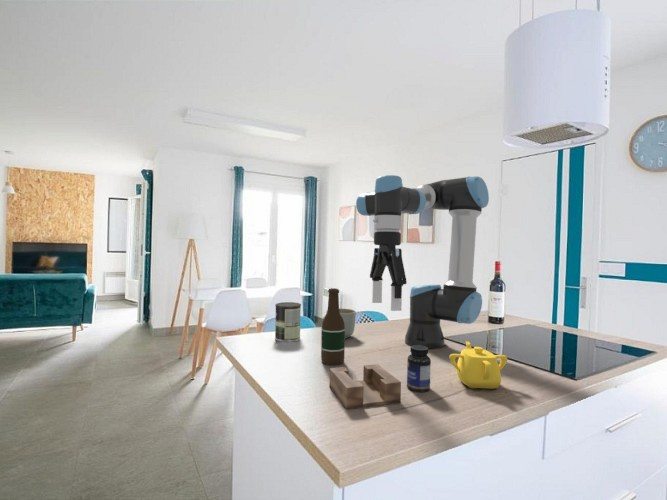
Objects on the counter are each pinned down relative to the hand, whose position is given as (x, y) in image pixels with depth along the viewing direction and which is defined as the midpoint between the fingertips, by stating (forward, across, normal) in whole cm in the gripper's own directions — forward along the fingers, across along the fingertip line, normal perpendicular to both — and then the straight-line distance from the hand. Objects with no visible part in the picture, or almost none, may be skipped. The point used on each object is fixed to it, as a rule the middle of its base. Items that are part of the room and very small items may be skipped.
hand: (385, 306), depth 103 cm
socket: (+21, +8, -9) cm, 24 cm away
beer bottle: (+21, -20, -10) cm, 31 cm away
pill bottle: (+21, +7, +7) cm, 23 cm away
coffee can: (+21, -52, -20) cm, 60 cm away
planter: (+21, -51, +2) cm, 55 cm away
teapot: (+21, +7, +25) cm, 34 cm away
